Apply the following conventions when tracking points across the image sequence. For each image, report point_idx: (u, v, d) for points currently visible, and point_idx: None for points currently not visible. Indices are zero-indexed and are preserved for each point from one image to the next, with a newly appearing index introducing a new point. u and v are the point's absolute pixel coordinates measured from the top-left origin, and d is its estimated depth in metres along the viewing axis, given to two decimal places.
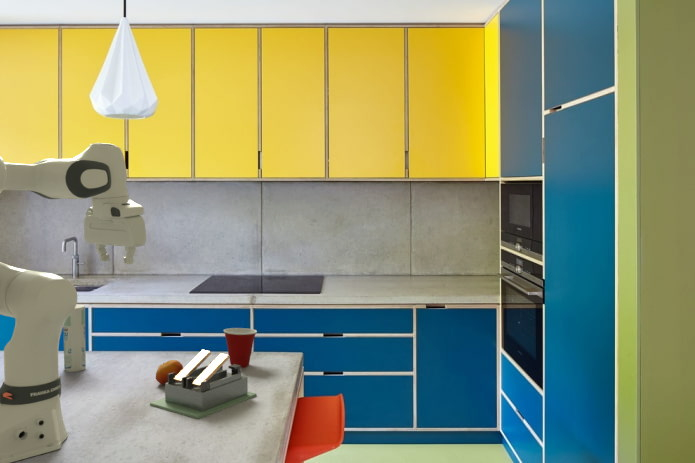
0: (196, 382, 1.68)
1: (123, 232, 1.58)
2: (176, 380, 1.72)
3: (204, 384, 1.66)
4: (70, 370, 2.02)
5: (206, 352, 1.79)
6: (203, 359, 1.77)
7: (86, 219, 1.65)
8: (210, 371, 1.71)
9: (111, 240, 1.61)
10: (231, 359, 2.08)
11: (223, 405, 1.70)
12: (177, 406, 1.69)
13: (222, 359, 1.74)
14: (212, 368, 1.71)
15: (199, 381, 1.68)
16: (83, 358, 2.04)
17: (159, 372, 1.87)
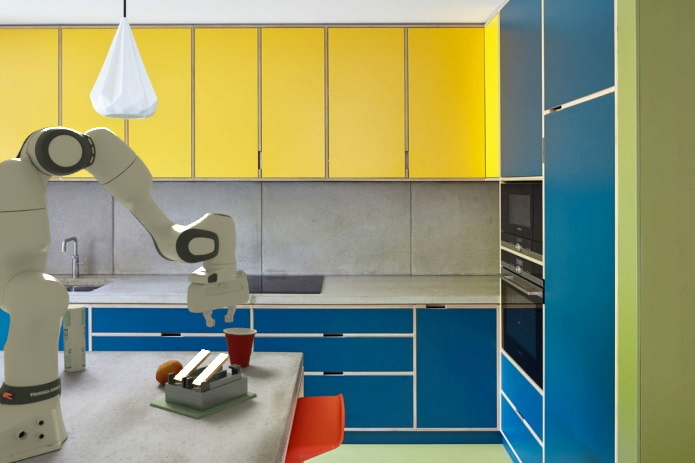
0: (196, 382, 1.68)
1: None
2: (176, 380, 1.72)
3: (204, 384, 1.66)
4: (70, 370, 2.02)
5: (206, 352, 1.79)
6: (203, 359, 1.77)
7: None
8: (210, 371, 1.71)
9: None
10: (231, 359, 2.08)
11: (223, 405, 1.70)
12: (177, 406, 1.69)
13: (222, 359, 1.74)
14: (212, 368, 1.71)
15: (199, 381, 1.68)
16: (83, 358, 2.04)
17: (159, 372, 1.87)
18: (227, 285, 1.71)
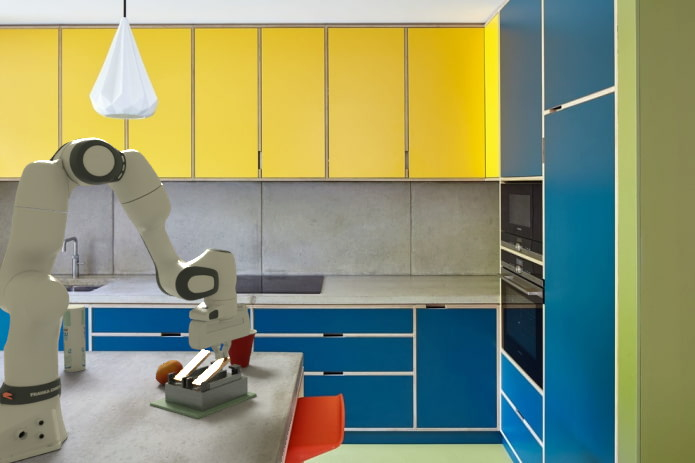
0: (196, 382, 1.68)
1: None
2: (176, 380, 1.72)
3: (204, 384, 1.66)
4: (70, 370, 2.02)
5: (206, 352, 1.79)
6: (203, 359, 1.77)
7: None
8: (211, 372, 1.71)
9: None
10: (231, 359, 2.08)
11: (223, 405, 1.70)
12: (177, 406, 1.69)
13: (223, 361, 1.74)
14: (213, 370, 1.72)
15: (199, 381, 1.68)
16: (83, 358, 2.04)
17: (159, 372, 1.87)
18: (228, 320, 1.72)
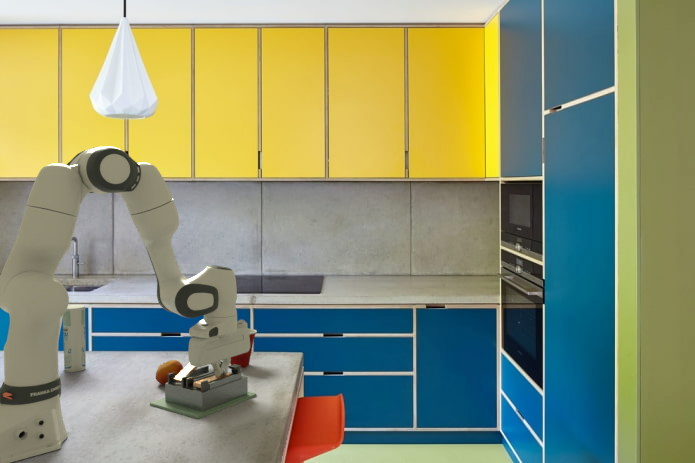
0: (198, 382, 1.68)
1: None
2: (176, 380, 1.72)
3: (204, 384, 1.66)
4: (70, 370, 2.02)
5: None
6: None
7: None
8: (213, 379, 1.72)
9: None
10: (231, 359, 2.08)
11: (223, 405, 1.70)
12: (177, 406, 1.69)
13: (226, 374, 1.76)
14: (215, 377, 1.73)
15: None
16: (83, 358, 2.04)
17: (159, 372, 1.87)
18: (228, 337, 1.72)
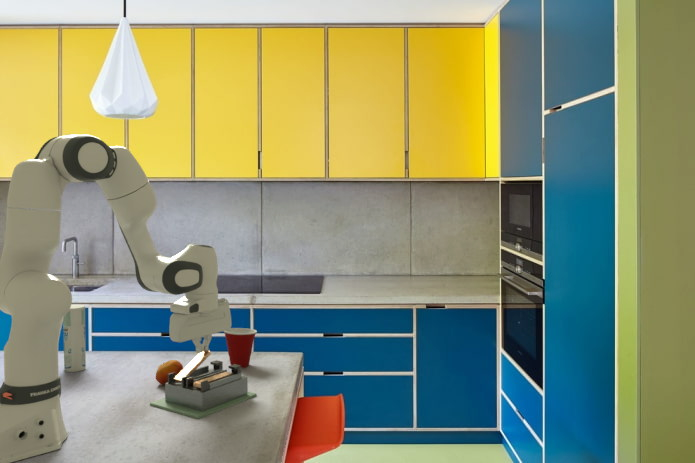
0: (198, 382, 1.68)
1: None
2: (176, 380, 1.72)
3: (204, 384, 1.66)
4: (70, 370, 2.02)
5: (206, 352, 1.79)
6: (203, 359, 1.77)
7: None
8: (213, 379, 1.72)
9: None
10: (231, 359, 2.08)
11: (223, 405, 1.70)
12: (177, 406, 1.69)
13: (226, 374, 1.76)
14: (215, 377, 1.73)
15: None
16: (83, 358, 2.04)
17: (159, 372, 1.87)
18: (209, 314, 1.76)
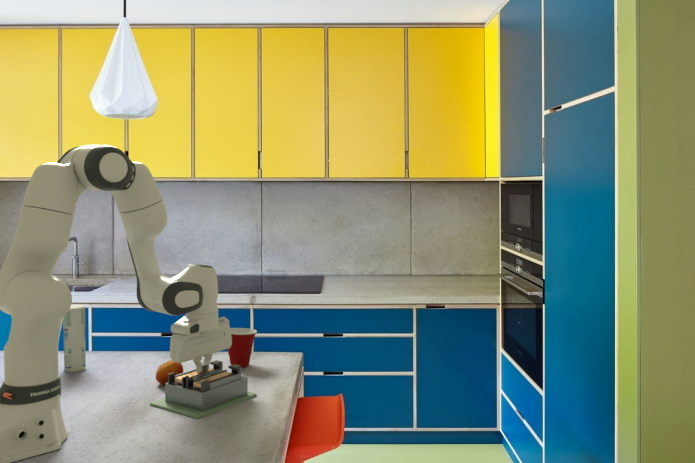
0: (198, 382, 1.68)
1: None
2: (177, 380, 1.72)
3: (204, 384, 1.66)
4: (70, 370, 2.02)
5: (211, 369, 1.81)
6: None
7: None
8: (213, 379, 1.72)
9: None
10: (231, 359, 2.08)
11: (223, 405, 1.70)
12: (177, 406, 1.69)
13: (226, 374, 1.76)
14: (215, 377, 1.73)
15: None
16: (83, 358, 2.04)
17: (159, 372, 1.87)
18: (209, 334, 1.76)
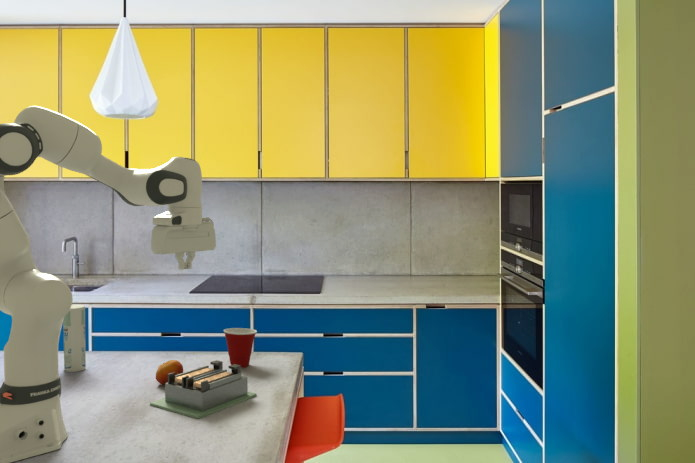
0: (198, 382, 1.68)
1: None
2: (177, 380, 1.72)
3: (204, 384, 1.66)
4: (70, 370, 2.02)
5: (211, 369, 1.81)
6: None
7: None
8: (213, 379, 1.72)
9: None
10: (231, 359, 2.08)
11: (223, 405, 1.70)
12: (177, 406, 1.69)
13: (226, 374, 1.76)
14: (215, 377, 1.73)
15: None
16: (83, 358, 2.04)
17: (159, 372, 1.87)
18: (192, 229, 1.72)
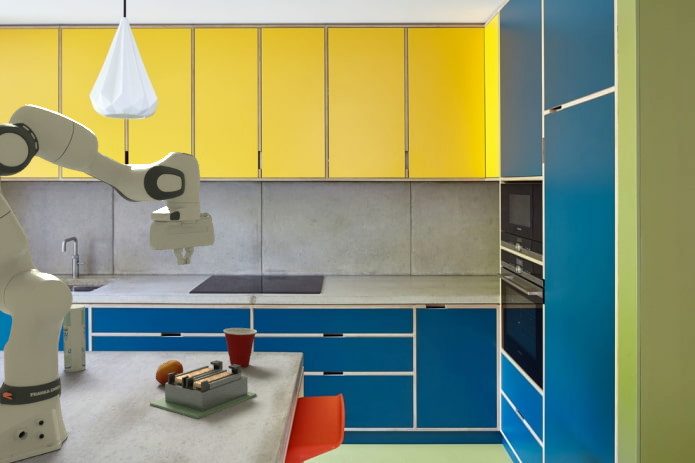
0: (198, 382, 1.68)
1: None
2: (177, 380, 1.72)
3: (204, 384, 1.66)
4: (70, 370, 2.02)
5: (211, 369, 1.81)
6: None
7: None
8: (213, 379, 1.72)
9: None
10: (231, 359, 2.08)
11: (223, 405, 1.70)
12: (177, 406, 1.69)
13: (226, 374, 1.76)
14: (215, 377, 1.73)
15: None
16: (83, 358, 2.04)
17: (159, 372, 1.87)
18: (190, 224, 1.72)
